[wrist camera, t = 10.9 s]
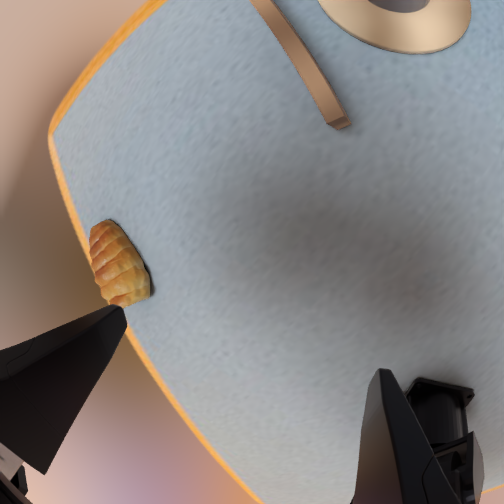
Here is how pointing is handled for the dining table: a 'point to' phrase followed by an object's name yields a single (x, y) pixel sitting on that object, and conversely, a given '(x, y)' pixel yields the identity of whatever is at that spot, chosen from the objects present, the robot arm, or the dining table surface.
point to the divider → (303, 63)
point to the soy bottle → (401, 5)
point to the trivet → (402, 24)
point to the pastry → (117, 265)
